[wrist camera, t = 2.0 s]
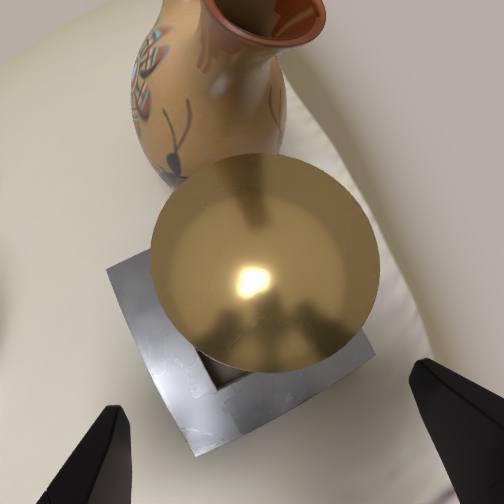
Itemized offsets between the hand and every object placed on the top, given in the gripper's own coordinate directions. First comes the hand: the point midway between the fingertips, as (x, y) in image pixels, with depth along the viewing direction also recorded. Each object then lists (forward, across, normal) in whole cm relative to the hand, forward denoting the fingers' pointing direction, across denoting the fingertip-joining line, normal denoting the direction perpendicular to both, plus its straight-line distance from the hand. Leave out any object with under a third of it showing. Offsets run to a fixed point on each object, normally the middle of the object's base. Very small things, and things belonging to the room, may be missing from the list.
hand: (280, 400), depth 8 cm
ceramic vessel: (+19, +1, -3) cm, 20 cm away
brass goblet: (+11, 0, +5) cm, 12 cm away
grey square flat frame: (+11, 0, +5) cm, 12 cm away
